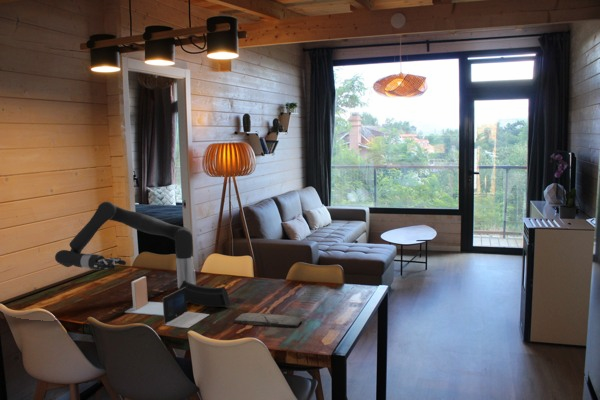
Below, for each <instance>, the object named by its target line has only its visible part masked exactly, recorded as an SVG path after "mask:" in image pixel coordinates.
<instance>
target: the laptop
mask: <svg viewBox="0 0 600 400" xmlns="http://www.w3.org/2000/svg"><path fill="white" fill-rule="evenodd" d="M162 303H163V313H164V316H163V324H164V326H166V327H175V328H179V329H181V328H182V329H189V328H190V327H192V326H194V325H196V324H197V323H199V322H200V321H202V320H204V319H205V318H207V317H208V316H210V314H209V313H201V312H192V311H188V302H187V295H186V287H184V288H182V289H180V290H178V289H177V290H176V291H174V292H172V293H170V294H168V295H165V296H164V297H162Z"/></svg>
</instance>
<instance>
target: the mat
mask: <svg viewBox="0 0 600 400" xmlns="http://www.w3.org/2000/svg"><path fill="white" fill-rule="evenodd" d="M124 313H126V314H138V315H147V316H148V315H151V316H159V317H160V316H161V317H164V313H163V302H160V301H159V302H156V301H148V304H147V305H145V306H143V307H141V308H139V309H137V310H133V307H130V308H129V309H127V310H125V311H124Z"/></svg>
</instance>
